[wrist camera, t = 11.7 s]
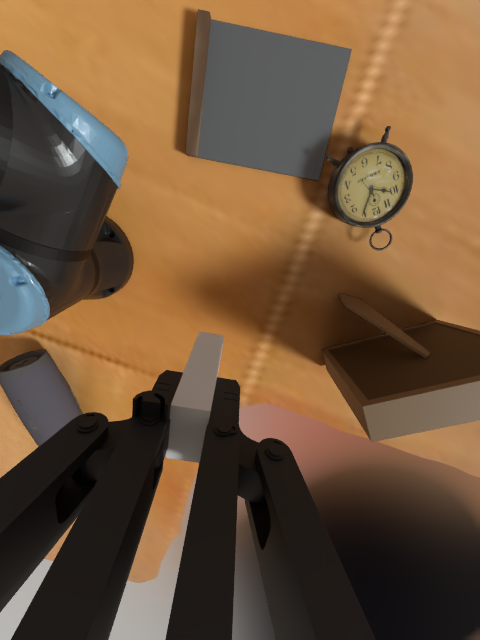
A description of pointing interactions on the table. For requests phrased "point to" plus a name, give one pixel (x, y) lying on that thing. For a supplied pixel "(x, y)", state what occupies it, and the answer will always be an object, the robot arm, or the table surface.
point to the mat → (269, 100)
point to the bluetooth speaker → (39, 394)
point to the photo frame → (407, 375)
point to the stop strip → (198, 81)
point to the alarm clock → (370, 185)
